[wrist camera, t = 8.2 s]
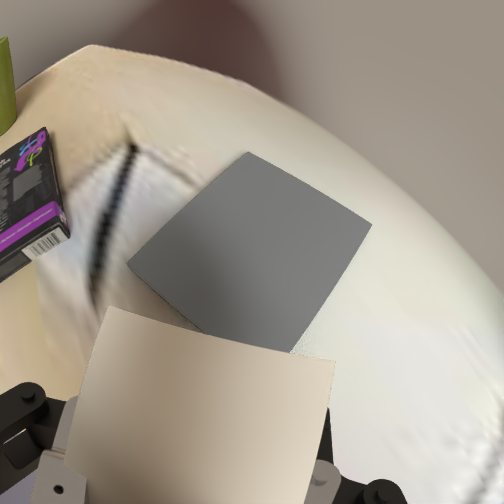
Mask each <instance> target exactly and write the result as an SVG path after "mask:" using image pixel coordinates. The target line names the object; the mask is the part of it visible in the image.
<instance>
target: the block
mask: <svg viewBox="0 0 504 504" xmlns="http://www.w3.org/2000/svg"><path fill="white" fill-rule="evenodd" d="M335 363H336V361H330V360H324V359H318V358H313V357H307V356H301V355H296V354H291V353H286V352H281V351H276V350H271V349H266V348H261V347H257V346H252V345H248V344H243V343H239V342H235V341H231V340H227V339H223V338H219V337H215V336H211V335H207V334H203V333H199V332H195V331H192V330H188V329H185V328H181V327H177V326H174V325H170V324H167V323H164V322H160V321H157V320H154V319H150V318H147V317H144V316H141V315H138V314H135V313H131V312H128V311H125V310H122V309H119V308H116V307H113V306H111V305H108V308H107V311H106V313H105V316H104V319H103V321H102V324H101V327H100V330H99V333H98V335H97V338H96V341H95V344H94V347H93V350H92V353H91V356H90V360H89V363H88V366H87V369H86V372H85V376H84V379H83V383H82V386H81V390H80V393H79V397H78V401H77V404H76V408H75V412H74V416H73V420H72V425H71V429H70V433H69V438H68V443H67V448H66V453H65V458H64V463H63V465H64V466H66V467H68V468H69V469H71V470H73V471H74V472H76V473H78V474H80V475H82V476H83V477H85V478H87V484H88V494H89V502H90V504H304V500H305V497H306V494H307V490H308V487H309V483H310V480H311V476H312V472H313V468H314V465H315V461H316V457H317V453H318V448H319V444H320V440H321V436H322V431H323V427H324V422H325V417H326V412H327V407H328V402H329V397H330V392H331V386H332V381H333V375H334V369H335Z"/></svg>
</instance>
